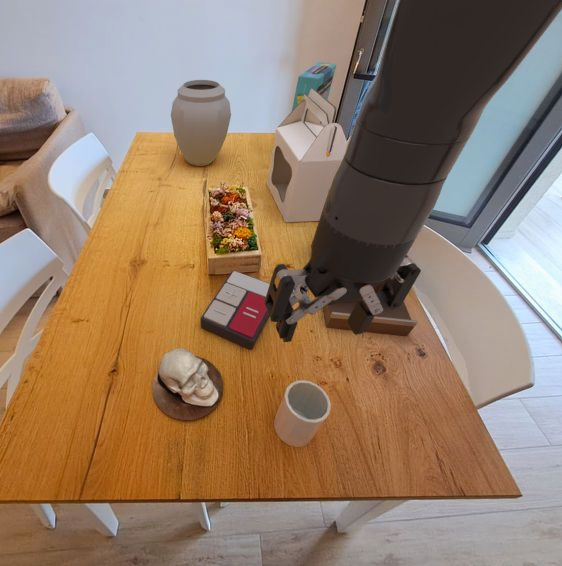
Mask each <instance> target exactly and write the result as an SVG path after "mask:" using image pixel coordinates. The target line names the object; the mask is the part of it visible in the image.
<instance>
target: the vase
mask: <svg viewBox="0 0 562 566" xmlns="http://www.w3.org/2000/svg"><path fill="white" fill-rule="evenodd" d="M176 92H177V96H176V97H174V99H173V100H172V105H171V111H170V119H171V120H170V121H171V125H172V130H173V131H172V132H173V136H174V138H175V141H176V143H177V146H178V149H179V152H180V153H181V154H182V156H183V158H184V159H185V160H186V161H187V163H189V164H190V165H192V166H194V167H205V166H208V165H210V164H212V163H213V162H214V160H215V159H216V158H217V157H218V155H219V153H220V152H221V150H222V148H223V145H224V143H225V141H226V138H227V136H228V135H227V134H228V131H229V126H230V121H231V117H232V113H231V103H230V100H229V99H228V98H227V96H226V89H225V88H224V87H223V86H222V85H221V84H220V83H219V82H218V81H215V80H210V79H194V80H188V81H186V82H184V83H183V84H182V85H180V87H179V88H177V91H176Z"/></svg>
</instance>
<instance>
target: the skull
mask: <svg viewBox="0 0 562 566" xmlns="http://www.w3.org/2000/svg"><path fill="white" fill-rule="evenodd" d="M151 387H152V390H151V391H152V397H153V400H154V402H155V404H156V406H157V407H158V408H159V410H160V411H161V412H163V413H164V414H165V415H167V416H169V417H171V418H172V419H173V418H174V419H176V420H179V421H192V420H193V421H194V420H198V419H201V418H203V417H205V416H207V415H209V414H210V413H211V412H213V411H214V410H215V409H216V407H218V405H219V404H220V402H221V400H222V398H223V397H222V396H223V393H224V380H223V376H222V374H221V373H220V370H219V369H218V368H217V366H216V365H214V364H213V362H211V361H209V360H208V359H206V358H204V357H200V356H197V355H195V354H194V353H192V352H191V351H189V350H187V349H186V348H181V347H179V348H174V349H172V350H170V351H168V352H166V353H164V354H163V356H162V358H161V360H160V362H159V365H158V371H157V372H156V373H155V375H154V378H153V381H152V386H151Z"/></svg>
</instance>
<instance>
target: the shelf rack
mask: <svg viewBox="0 0 562 566" xmlns="http://www.w3.org/2000/svg"><path fill="white" fill-rule="evenodd" d="M329 190H330V189H329ZM328 193H329V192H328ZM327 196H328V195H327ZM326 199H327V198H326ZM325 202H326V201H325ZM324 206H325V204H324ZM323 209H324V207H323ZM322 212H323V210H322ZM321 215H322V213H321ZM320 219H321V216H320ZM319 222H320V220H319V221H318V223H317V226H316V229H315V232H314V235H313V239H312V241H311V245H310V248H311V250H312V244H313V241H314V238H315V234H316V231H317V228H318V225H319ZM381 284H382V283H381ZM381 284H379V285H378V286H376V287H375V288H374V292H375V293H377V292H378V290H379V288H380V286H381ZM392 292H393V293H394V290H393V289H392ZM357 301H362V298H359V299H357V300H355V301H354V302H352V303H336V304H333V305H325V306H324V307H323V308H322V312H323V317H324V323H325V327H326V328H327V329H337V330H345V331H346V330H347V331H352V329H351V328H350V326H349V324H348V318H349V316H350V314H351V312H352V311H353V309H354V307H355V305H356V303H357ZM417 324H418V320H416V319H415V320H413V319H412V317H411V315H410V312H409V310H408V308H407V306H406V304H405V300H404V301H403V303H402V305H401V306H400V307H399V308H397V309H393V310H392V309H390V308H389V307H387V308H383V311H382V312H381V313H380V314H377V315H375V317H374V318H373V320H372V322H371V323H370V325H369V327H367V328H366V329H365V330H364V332H363V333H375V334H384V335H391V336H392V335H393V336H402V337H408V336H409V335H410V333H411V332H412V331H413V329H414V328H415V327H416V326H417Z"/></svg>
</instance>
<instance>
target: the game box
mask: <svg viewBox="0 0 562 566" xmlns="http://www.w3.org/2000/svg"><path fill="white" fill-rule="evenodd" d="M336 68H337V64H336V63H329V62H319V61H318V62H316V64H314V65H313V66H311V67H310V68H308V69H307V70H305V71H304V72H302V73H301V74H299V75H298V78H297V82H296V87H295V92H294V96H293V97H294V98H293V102H292V108H291V112H292V111H293V110H294V109H295V107H296V106H297V105H298V104H299V103H300V102H301V101H303V100H304V99H305V97H304V93H305V94H306V95H307V96H309V93H310V90H311V89H315V90H316V91H317V92H318V93H320V94H321V95H322V96H323V97H324V98H326V99H327V100H328V98H329V96H330V91H331V87H332V84H333V79H334V77H335V72H336ZM328 101H329V100H328ZM300 121H301V120H300ZM320 124H321V125H322V124H323V123H322V122H321V121H320Z"/></svg>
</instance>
